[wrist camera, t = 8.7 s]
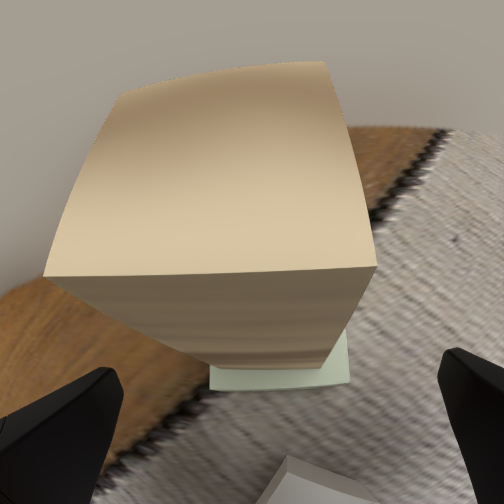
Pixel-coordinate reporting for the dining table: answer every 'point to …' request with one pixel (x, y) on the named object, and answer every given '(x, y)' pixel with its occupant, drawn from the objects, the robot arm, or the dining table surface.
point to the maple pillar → (223, 218)
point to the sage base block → (286, 375)
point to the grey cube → (312, 486)
